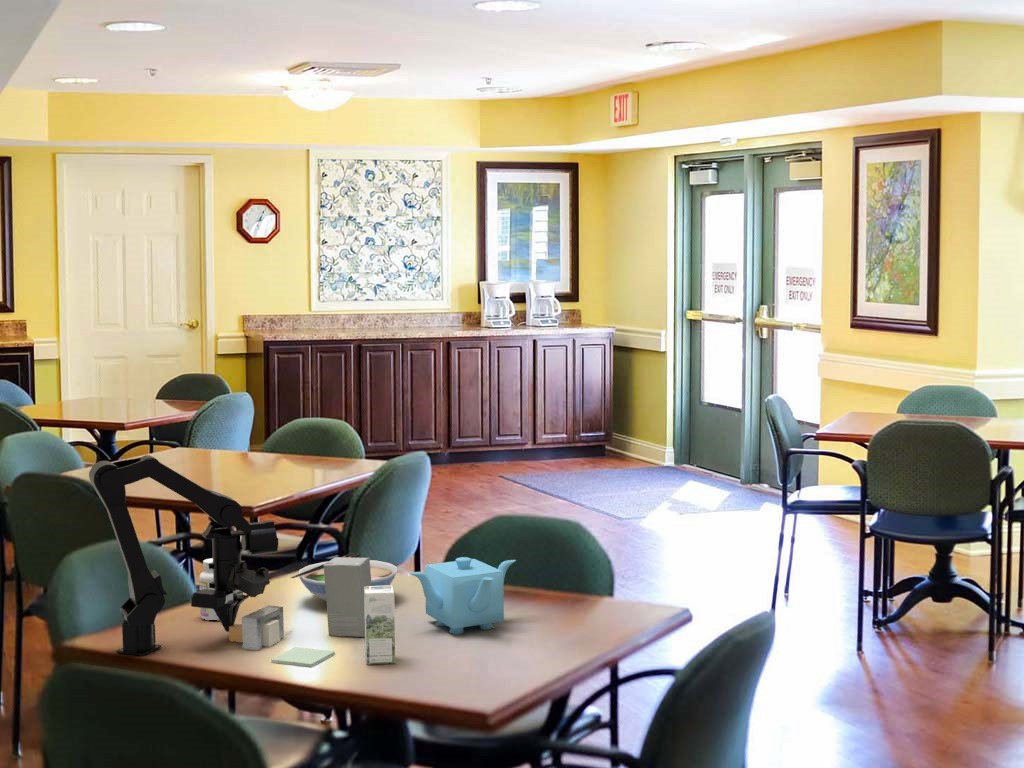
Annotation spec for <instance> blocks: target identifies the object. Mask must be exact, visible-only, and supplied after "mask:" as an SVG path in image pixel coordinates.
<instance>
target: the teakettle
mask: <svg viewBox="0 0 1024 768" xmlns="http://www.w3.org/2000/svg"><path fill="white" fill-rule="evenodd" d="M516 561H517V560H516V559H510V560H509V559H508V560H507V559H506V560H504V561H502V562H501V563H500V564H499V566H497V568H496V567H494V566H491V565H489V564H487V563H485V562H483V561H480V560H478V559H476V558H470V557H467V556H462V557H457V558H455V560H454V561H447V562H438V563H429V564H425V566H424V572H423V571H411V572H409V575H412V576H414V577H416V578H417V579H418V580H419V582H420V584H421V587H422V591H423V593H424V594H423V595H424V597H425V614H426V615H427V616H429V617H431V618H433V619H435V621H436V623H434V624H435V626H437V627H446V626H447V627H448V628H450V629H449V632H450V633H449V634H451V633H453V634H452V635H461V634H464V628H469V627H475V626H479V628H480V629H481V628H482V629H481V630H492V628H493V627H494V626H493V624H496V623H501V622H503V623H504V622H505V616H504V615H505V614H504V612H505V610H504V608H505V607H504V606H505V605H504V597H505V596H504V582H505V576H506V572H507V570H508V568H509V567H510V566H511V565H512V564H514V563H515V562H516ZM493 629H494V628H493ZM460 633H461V634H460Z"/></svg>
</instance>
